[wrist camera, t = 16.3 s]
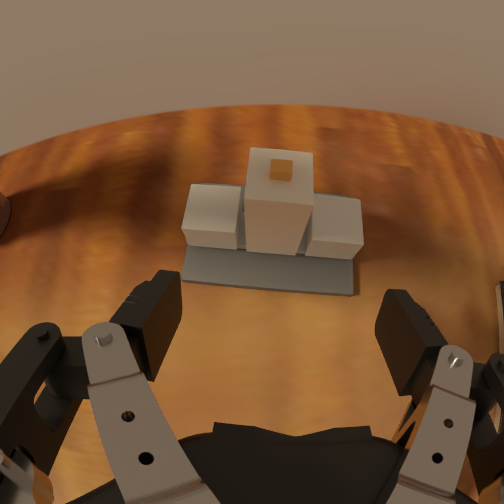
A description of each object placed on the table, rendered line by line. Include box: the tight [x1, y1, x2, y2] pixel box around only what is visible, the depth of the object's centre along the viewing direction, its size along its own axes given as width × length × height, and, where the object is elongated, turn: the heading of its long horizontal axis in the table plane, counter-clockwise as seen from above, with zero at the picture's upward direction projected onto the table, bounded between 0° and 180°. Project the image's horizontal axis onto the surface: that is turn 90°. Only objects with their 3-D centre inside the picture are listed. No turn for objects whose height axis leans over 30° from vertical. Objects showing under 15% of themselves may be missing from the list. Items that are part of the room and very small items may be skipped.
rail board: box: [181, 183, 364, 296], centre depth 30 cm, size 18×12×6 cm, turn 85°
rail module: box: [244, 147, 314, 256], centre depth 25 cm, size 5×5×11 cm
